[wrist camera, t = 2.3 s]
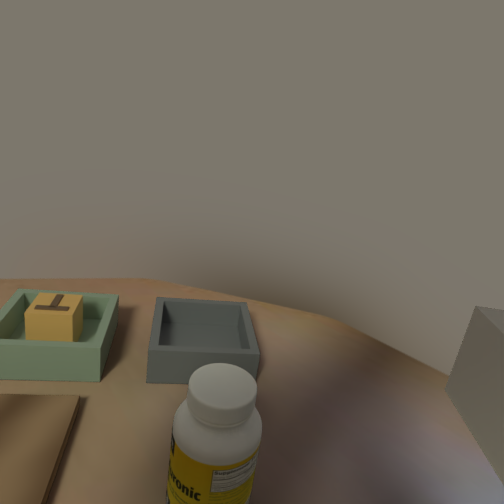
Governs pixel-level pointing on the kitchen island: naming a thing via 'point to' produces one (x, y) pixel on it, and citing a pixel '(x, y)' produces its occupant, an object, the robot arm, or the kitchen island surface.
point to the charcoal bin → (199, 338)
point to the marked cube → (54, 317)
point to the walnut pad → (32, 444)
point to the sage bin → (57, 352)
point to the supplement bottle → (215, 438)
